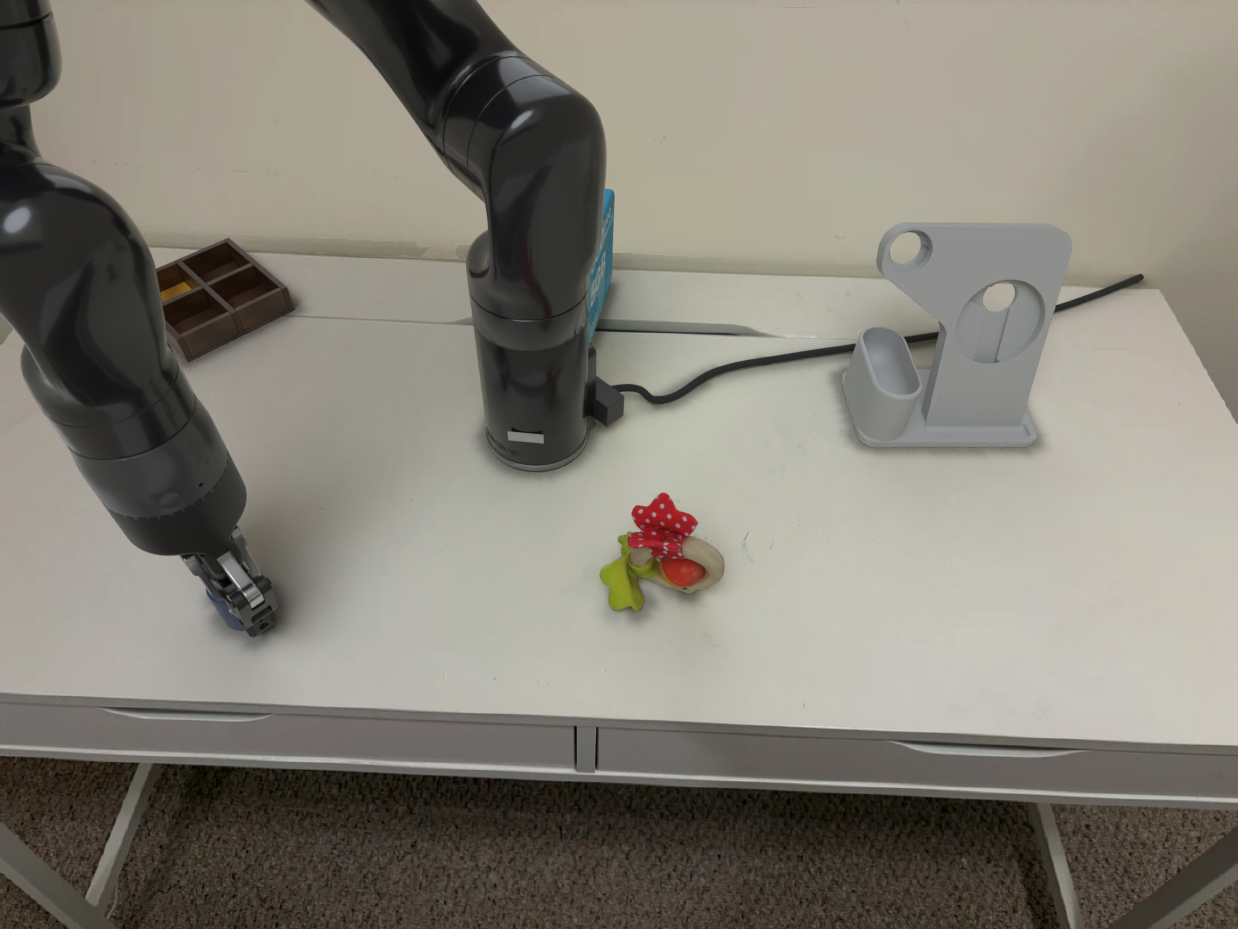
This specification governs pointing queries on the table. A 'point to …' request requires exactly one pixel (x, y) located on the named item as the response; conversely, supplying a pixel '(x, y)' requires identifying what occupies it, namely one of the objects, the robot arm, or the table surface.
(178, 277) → the grid
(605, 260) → the data package
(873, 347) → the phone holder
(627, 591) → the bird rattle
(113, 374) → the robot arm
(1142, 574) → the table surface
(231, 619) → the blue cylinder
